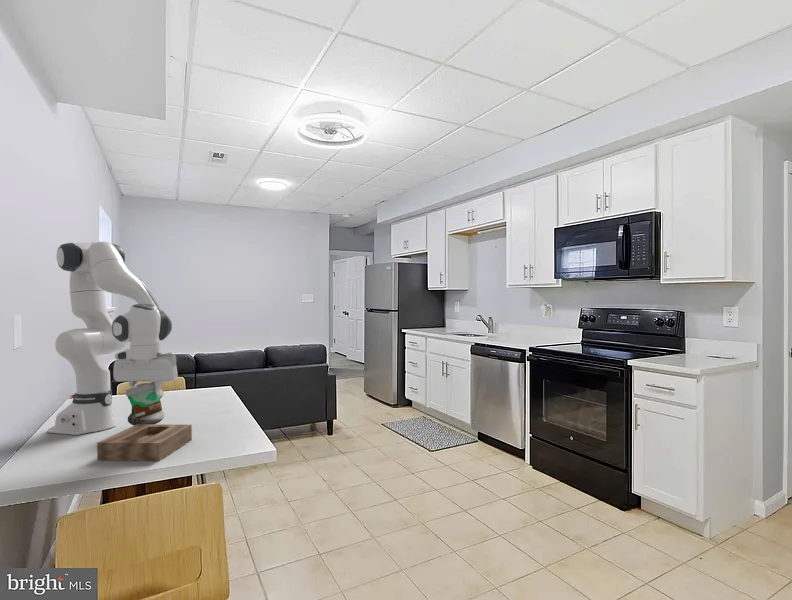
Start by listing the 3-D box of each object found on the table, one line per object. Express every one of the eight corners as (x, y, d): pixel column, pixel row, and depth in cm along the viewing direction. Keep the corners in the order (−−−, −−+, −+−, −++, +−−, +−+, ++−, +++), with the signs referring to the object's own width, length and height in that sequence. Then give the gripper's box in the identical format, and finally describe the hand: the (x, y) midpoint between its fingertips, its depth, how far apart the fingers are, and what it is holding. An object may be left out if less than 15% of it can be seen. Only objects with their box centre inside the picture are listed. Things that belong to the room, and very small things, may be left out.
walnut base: (97, 460, 144) (97, 442, 144) (136, 439, 164) (136, 424, 164) (159, 460, 143) (159, 443, 143) (191, 440, 163) (191, 424, 163)
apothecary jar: (137, 439, 164) (135, 389, 164) (122, 433, 172) (121, 385, 171) (170, 430, 174) (169, 383, 174) (155, 425, 181) (154, 380, 181)
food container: (150, 415, 146) (141, 385, 146) (133, 420, 147) (124, 390, 147) (173, 405, 158) (165, 377, 159) (158, 410, 159) (149, 382, 159)
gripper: (180, 351, 155) (181, 392, 156) (122, 351, 156) (123, 392, 157) (170, 354, 149) (171, 396, 149) (109, 354, 150) (110, 396, 150)
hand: (146, 394), depth 153 cm, fingers closed on food container, 5 cm apart
